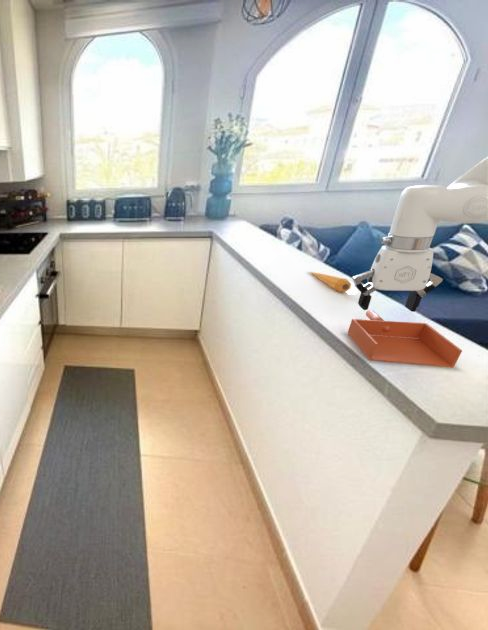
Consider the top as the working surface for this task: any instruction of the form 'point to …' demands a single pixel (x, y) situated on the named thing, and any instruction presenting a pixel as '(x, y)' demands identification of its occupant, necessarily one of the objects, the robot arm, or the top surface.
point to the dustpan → (402, 342)
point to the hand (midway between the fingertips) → (385, 308)
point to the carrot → (334, 282)
